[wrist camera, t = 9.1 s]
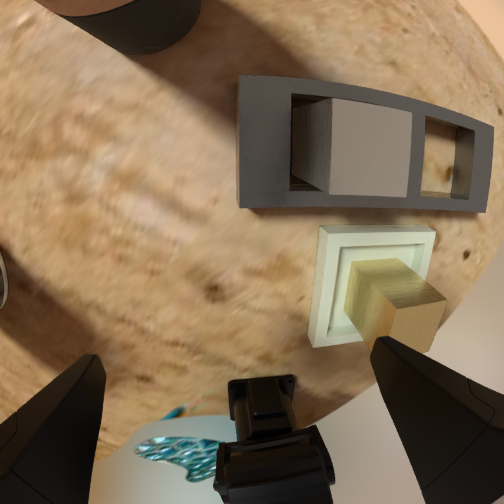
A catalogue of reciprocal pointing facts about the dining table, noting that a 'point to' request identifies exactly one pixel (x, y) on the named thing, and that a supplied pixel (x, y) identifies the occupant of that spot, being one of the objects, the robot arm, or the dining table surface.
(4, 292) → the coffee can
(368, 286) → the beige wooden block
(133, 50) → the travel mug
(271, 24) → the dining table surface
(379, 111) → the grey square block
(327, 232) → the tray
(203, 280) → the dining table surface
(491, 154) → the rail
